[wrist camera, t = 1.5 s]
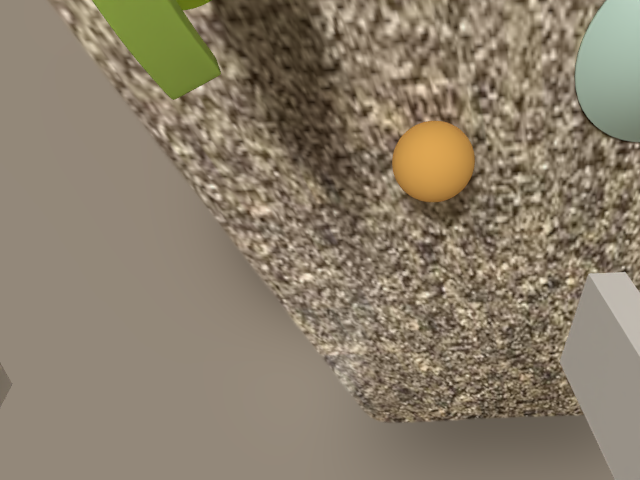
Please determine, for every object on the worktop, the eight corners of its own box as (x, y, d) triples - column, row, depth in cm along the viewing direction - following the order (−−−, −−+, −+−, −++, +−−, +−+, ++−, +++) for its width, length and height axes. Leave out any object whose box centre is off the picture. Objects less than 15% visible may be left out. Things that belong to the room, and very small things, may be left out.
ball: (479, 123, 40) (500, 162, 35) (441, 185, 43) (455, 228, 38) (410, 95, 38) (422, 132, 34) (375, 161, 41) (382, 202, 37)
